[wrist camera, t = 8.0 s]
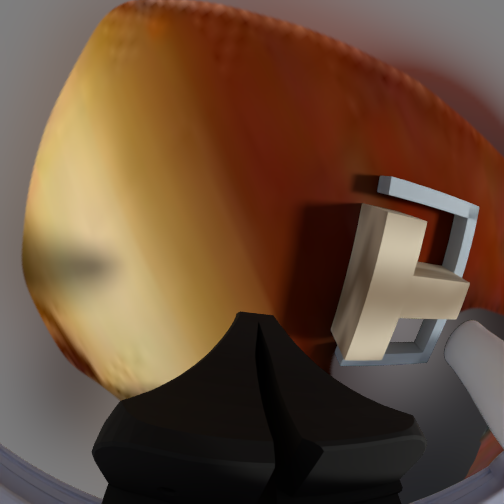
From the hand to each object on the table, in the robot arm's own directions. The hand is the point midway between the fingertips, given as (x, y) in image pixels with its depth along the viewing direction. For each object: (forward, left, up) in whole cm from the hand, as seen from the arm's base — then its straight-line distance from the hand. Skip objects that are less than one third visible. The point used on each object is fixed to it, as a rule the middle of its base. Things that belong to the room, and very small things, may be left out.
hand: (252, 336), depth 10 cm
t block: (0, -11, -9) cm, 14 cm away
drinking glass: (-6, -23, -10) cm, 26 cm away
